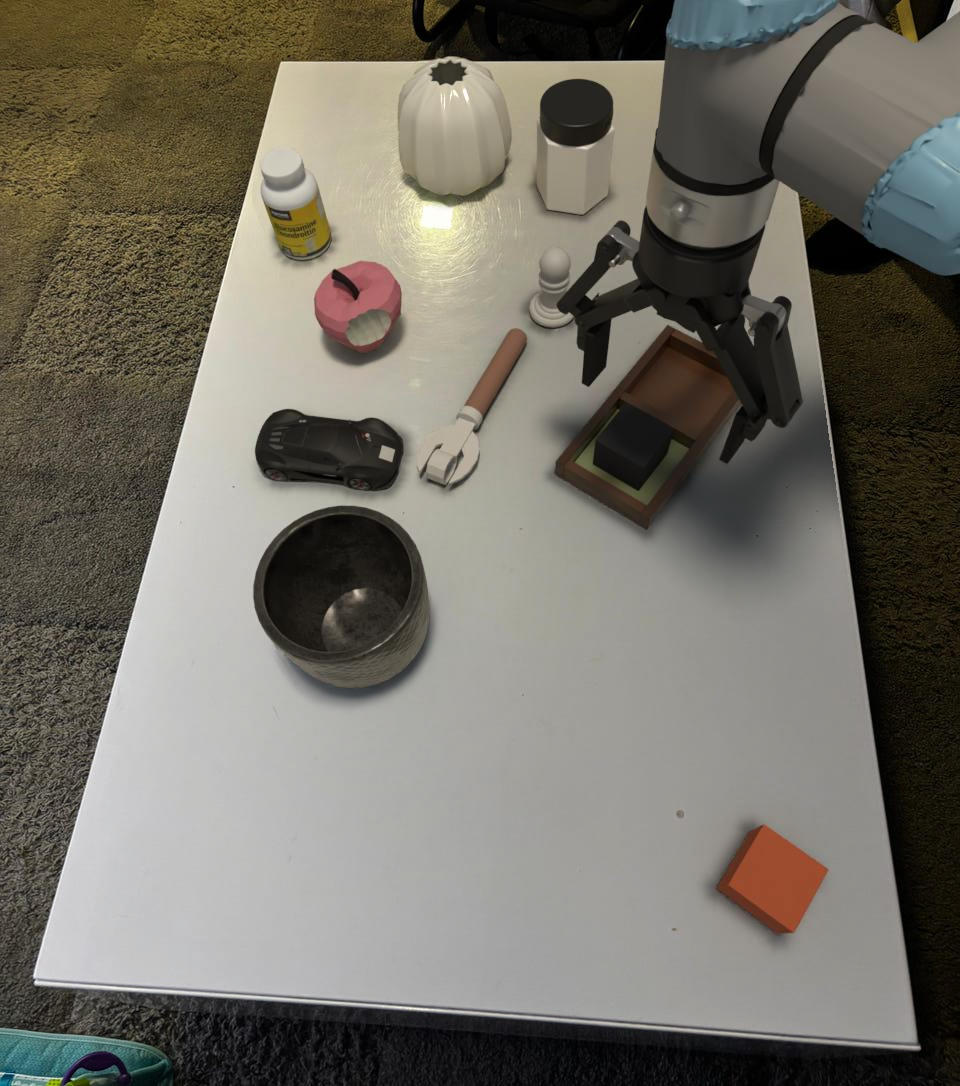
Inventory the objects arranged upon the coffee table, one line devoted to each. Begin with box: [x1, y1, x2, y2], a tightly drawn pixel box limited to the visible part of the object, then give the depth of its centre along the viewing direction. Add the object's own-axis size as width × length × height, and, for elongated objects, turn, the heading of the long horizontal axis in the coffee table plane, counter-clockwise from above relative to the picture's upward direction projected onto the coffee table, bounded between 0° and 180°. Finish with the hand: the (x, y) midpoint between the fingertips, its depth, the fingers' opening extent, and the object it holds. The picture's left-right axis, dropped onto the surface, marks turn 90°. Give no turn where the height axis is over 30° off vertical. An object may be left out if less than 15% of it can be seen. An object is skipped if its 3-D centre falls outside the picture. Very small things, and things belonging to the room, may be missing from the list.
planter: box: [252, 504, 431, 689], centre depth 72 cm, size 14×14×13 cm
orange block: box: [716, 823, 829, 934], centre depth 64 cm, size 6×6×4 cm
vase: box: [397, 56, 513, 197], centre depth 98 cm, size 14×14×13 cm
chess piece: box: [528, 246, 575, 329], centre depth 89 cm, size 5×5×9 cm
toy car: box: [254, 408, 404, 491], centre depth 85 cm, size 7×15×4 cm, turn 81°
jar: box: [536, 78, 616, 216], centre depth 96 cm, size 9×8×12 cm
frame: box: [554, 324, 742, 531], centre depth 84 cm, size 11×21×3 cm, turn 143°
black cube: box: [593, 402, 674, 491], centre depth 81 cm, size 6×6×4 cm
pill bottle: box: [259, 146, 332, 261], centre depth 95 cm, size 6×6×12 cm
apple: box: [313, 260, 403, 354], centre depth 89 cm, size 10×9×10 cm
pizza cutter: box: [416, 327, 528, 486], centre depth 87 cm, size 20×6×3 cm, turn 154°
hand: (660, 412), depth 70 cm, fingers open, 13 cm apart
